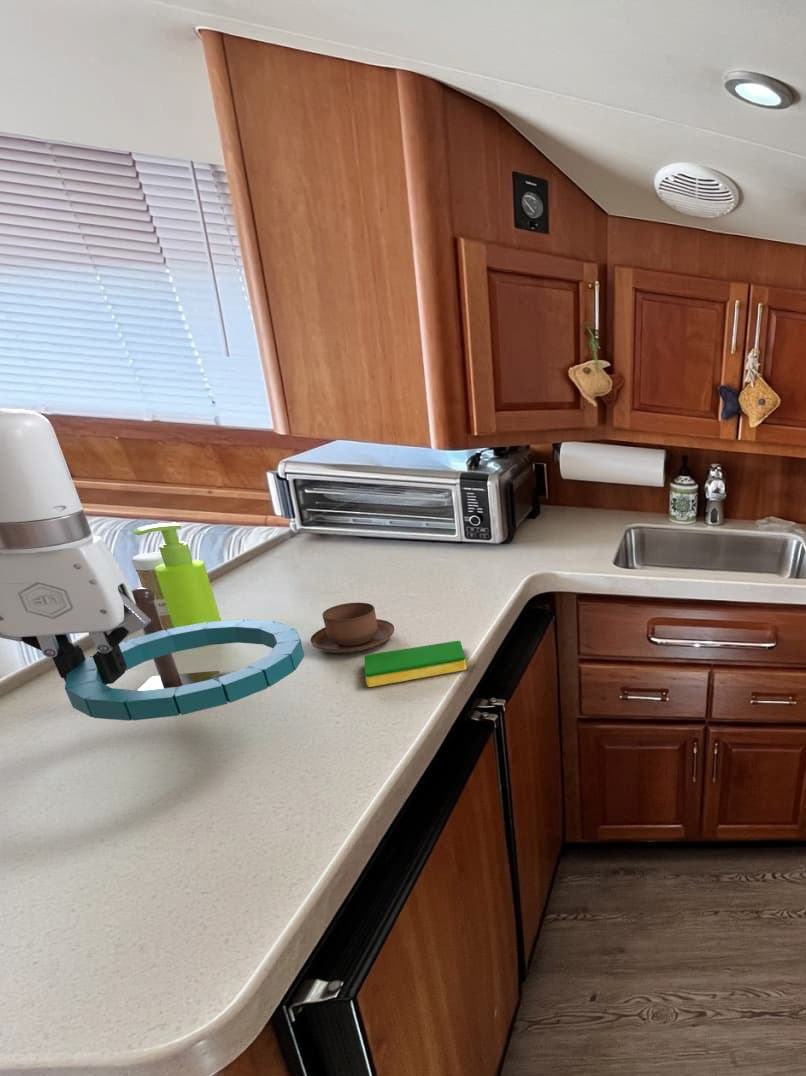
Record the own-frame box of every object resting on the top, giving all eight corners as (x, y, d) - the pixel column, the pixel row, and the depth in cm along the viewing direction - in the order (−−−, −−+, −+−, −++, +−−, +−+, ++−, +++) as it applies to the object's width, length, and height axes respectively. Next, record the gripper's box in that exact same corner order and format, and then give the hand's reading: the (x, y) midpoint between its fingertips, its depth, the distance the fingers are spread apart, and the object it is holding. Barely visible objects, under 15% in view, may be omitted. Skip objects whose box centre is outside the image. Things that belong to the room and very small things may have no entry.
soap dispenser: (165, 639, 106) (126, 524, 99) (218, 626, 112) (185, 517, 104) (176, 650, 103) (137, 533, 96) (230, 637, 109) (197, 525, 101)
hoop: (25, 732, 65) (16, 712, 65) (132, 643, 83) (126, 627, 82) (272, 705, 73) (267, 687, 72) (322, 629, 91) (318, 614, 90)
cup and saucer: (297, 647, 107) (288, 614, 105) (368, 622, 118) (362, 592, 115) (341, 666, 103) (333, 632, 101) (411, 639, 113) (405, 607, 111)
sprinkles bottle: (176, 634, 108) (152, 560, 103) (148, 633, 108) (122, 558, 102) (199, 623, 112) (176, 551, 107) (172, 622, 112) (148, 550, 107)
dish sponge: (367, 667, 103) (364, 654, 102) (461, 652, 110) (460, 639, 109) (367, 688, 98) (364, 674, 97) (467, 670, 105) (465, 657, 104)
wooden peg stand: (124, 710, 88) (82, 601, 82) (153, 682, 95) (116, 579, 88) (197, 703, 91) (162, 597, 84) (220, 675, 98) (189, 576, 91)
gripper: (-101, 544, 61) (-21, 706, 68) (117, 538, 67) (170, 687, 74) (-42, 522, 68) (26, 672, 75) (153, 518, 74) (198, 658, 81)
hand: (97, 678), depth 75 cm, fingers closed on hoop, 2 cm apart
